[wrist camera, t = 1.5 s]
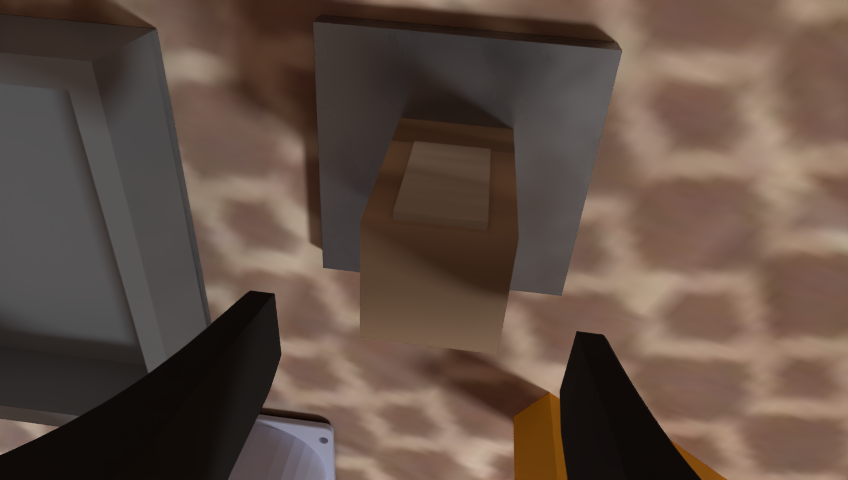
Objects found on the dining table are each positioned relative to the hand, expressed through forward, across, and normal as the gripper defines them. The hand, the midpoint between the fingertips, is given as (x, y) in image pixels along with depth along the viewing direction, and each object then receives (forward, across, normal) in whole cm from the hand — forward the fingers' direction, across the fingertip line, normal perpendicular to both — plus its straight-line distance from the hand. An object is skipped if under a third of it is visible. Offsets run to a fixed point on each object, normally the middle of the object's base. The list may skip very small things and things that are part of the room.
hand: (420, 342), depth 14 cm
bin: (+10, +18, +5) cm, 22 cm away
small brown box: (+9, 0, 0) cm, 9 cm away
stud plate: (+10, 0, 0) cm, 10 cm away
